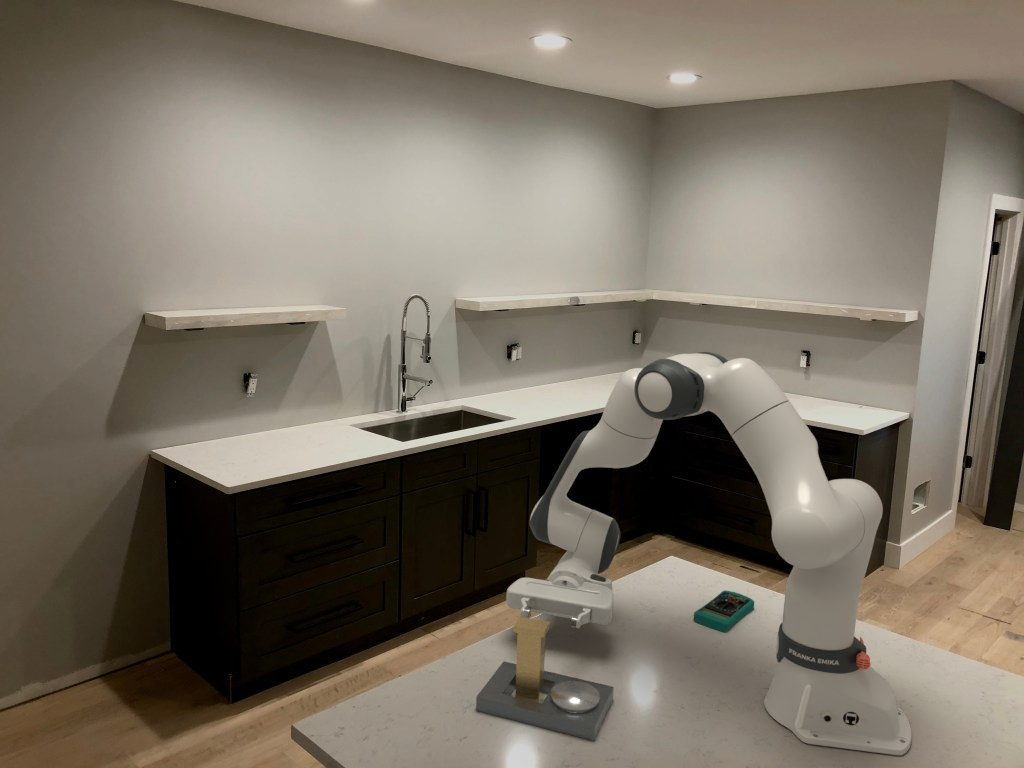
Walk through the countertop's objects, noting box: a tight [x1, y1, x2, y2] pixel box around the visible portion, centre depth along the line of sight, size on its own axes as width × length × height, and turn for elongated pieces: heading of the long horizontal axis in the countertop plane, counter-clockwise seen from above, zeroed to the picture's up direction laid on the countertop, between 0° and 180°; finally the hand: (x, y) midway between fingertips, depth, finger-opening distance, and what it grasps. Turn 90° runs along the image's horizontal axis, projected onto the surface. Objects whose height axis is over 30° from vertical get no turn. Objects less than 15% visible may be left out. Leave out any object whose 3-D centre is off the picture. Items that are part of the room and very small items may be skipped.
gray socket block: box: [475, 660, 615, 742], centre depth 133 cm, size 20×12×3 cm, turn 69°
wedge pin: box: [513, 616, 551, 703], centre depth 133 cm, size 5×4×14 cm
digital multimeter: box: [693, 590, 755, 633], centre depth 167 cm, size 7×15×3 cm, turn 141°
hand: (549, 619), depth 144 cm, fingers open, 8 cm apart
